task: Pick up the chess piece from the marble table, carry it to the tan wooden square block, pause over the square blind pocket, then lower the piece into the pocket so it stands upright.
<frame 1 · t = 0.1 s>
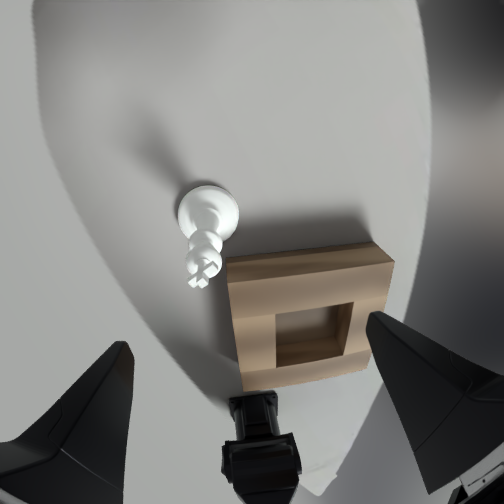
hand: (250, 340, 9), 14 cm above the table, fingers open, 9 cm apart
tan wooden square block: (302, 311, 28), on the table
chess piece: (208, 214, 23), on the table
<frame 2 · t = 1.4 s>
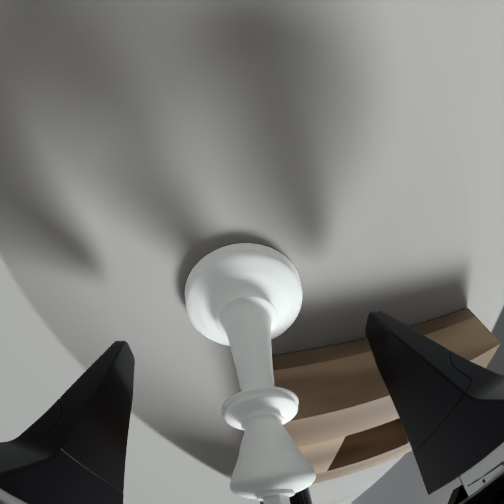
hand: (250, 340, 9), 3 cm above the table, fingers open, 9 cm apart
tan wooden square block: (364, 398, 17), on the table
chess piece: (243, 293, 12), on the table
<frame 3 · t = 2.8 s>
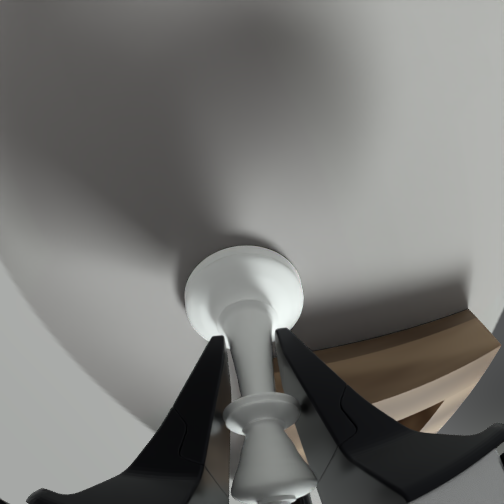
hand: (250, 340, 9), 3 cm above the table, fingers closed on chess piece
tan wooden square block: (365, 400, 17), on the table
chess piece: (243, 295, 12), on the table, touching gripper
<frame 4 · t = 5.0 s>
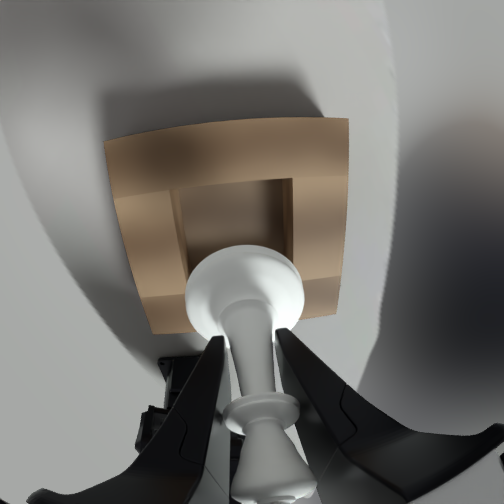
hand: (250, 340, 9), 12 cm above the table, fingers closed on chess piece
tan wooden square block: (233, 217, 20), on the table
chess piece: (244, 295, 12), point 10 cm above the table, touching gripper
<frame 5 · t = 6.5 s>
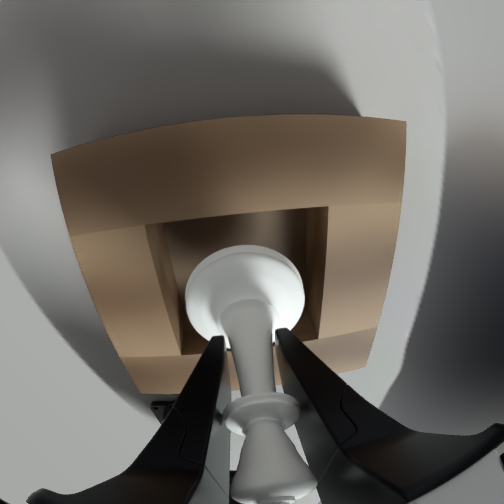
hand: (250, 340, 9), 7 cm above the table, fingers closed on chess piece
tan wooden square block: (238, 250, 15), on the table
chess piece: (244, 295, 12), point 4 cm above the table, touching gripper
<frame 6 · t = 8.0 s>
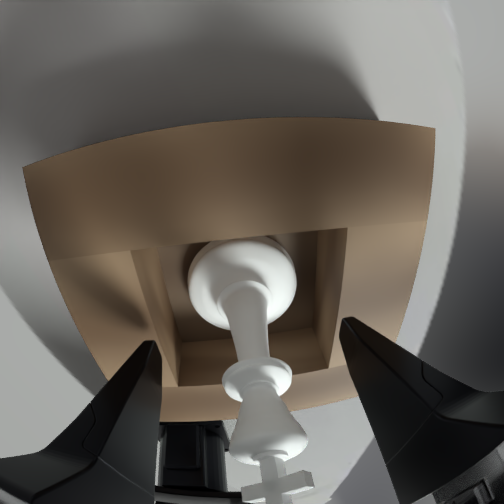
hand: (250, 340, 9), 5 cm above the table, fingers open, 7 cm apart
tan wooden square block: (240, 270, 14), on the table
chess piece: (241, 279, 13), point 1 cm above the table, touching tan wooden square block
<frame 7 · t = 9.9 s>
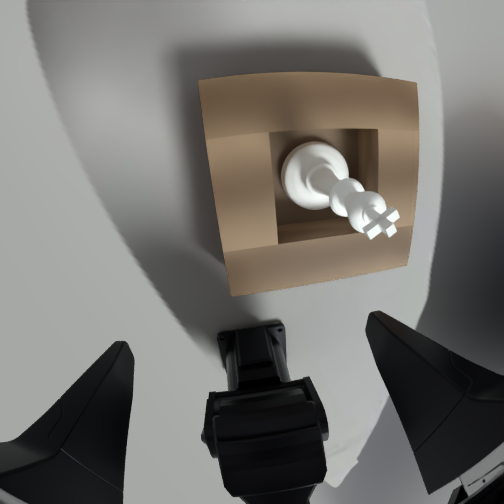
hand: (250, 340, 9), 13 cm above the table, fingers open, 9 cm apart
tan wooden square block: (310, 172, 20), on the table
chess piece: (313, 174, 19), point 1 cm above the table, touching tan wooden square block
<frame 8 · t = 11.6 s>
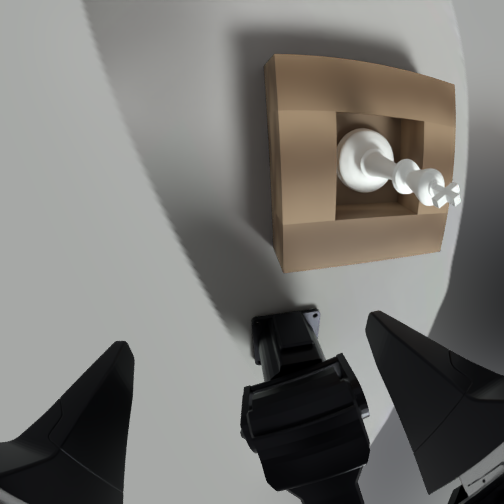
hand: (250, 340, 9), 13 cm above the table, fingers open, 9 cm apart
tan wooden square block: (357, 157, 20), on the table
chess piece: (362, 159, 19), point 1 cm above the table, touching tan wooden square block
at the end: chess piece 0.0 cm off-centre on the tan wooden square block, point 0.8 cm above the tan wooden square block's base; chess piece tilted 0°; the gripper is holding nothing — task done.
